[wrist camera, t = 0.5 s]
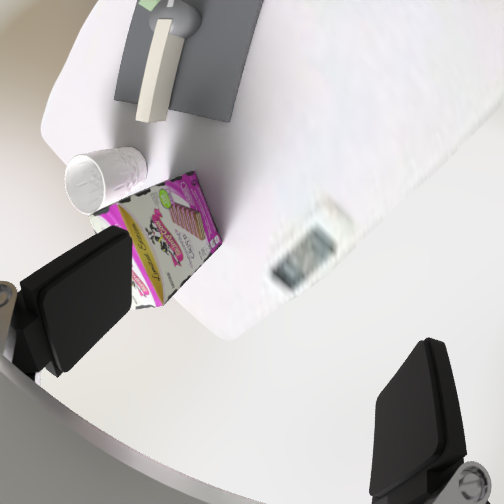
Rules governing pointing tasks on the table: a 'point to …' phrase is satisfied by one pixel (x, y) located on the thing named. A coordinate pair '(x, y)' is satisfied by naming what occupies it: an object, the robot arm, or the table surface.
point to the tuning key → (165, 56)
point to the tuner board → (195, 57)
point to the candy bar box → (163, 236)
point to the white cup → (103, 177)
